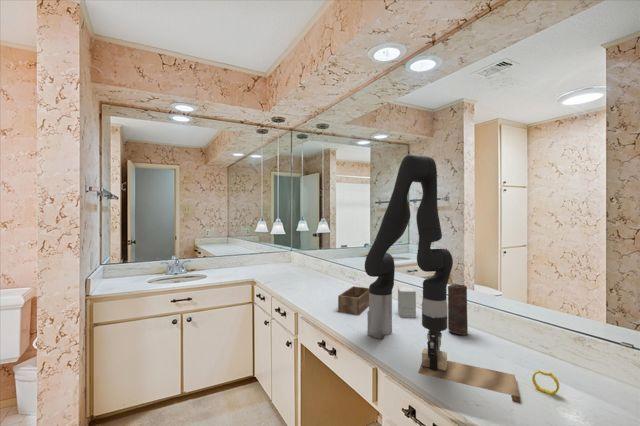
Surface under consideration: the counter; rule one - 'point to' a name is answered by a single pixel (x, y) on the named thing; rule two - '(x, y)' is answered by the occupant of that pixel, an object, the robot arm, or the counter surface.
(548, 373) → the yellow wavy ring
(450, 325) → the rusty brown cylinder
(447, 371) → the board
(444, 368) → the block
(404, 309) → the supplement box
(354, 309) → the open wooden box
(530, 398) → the counter surface
